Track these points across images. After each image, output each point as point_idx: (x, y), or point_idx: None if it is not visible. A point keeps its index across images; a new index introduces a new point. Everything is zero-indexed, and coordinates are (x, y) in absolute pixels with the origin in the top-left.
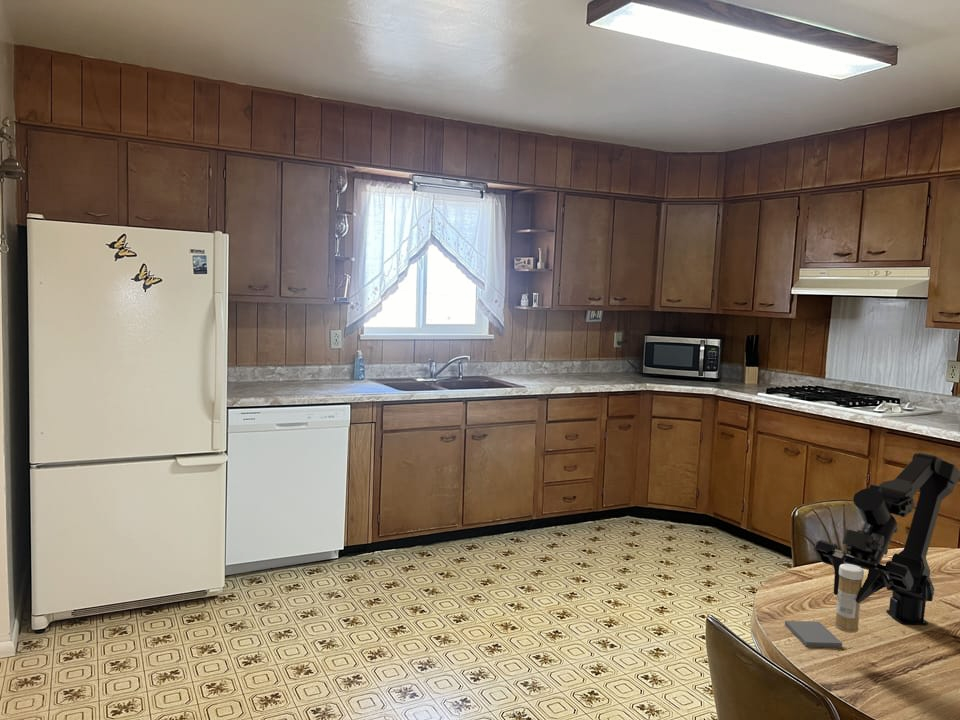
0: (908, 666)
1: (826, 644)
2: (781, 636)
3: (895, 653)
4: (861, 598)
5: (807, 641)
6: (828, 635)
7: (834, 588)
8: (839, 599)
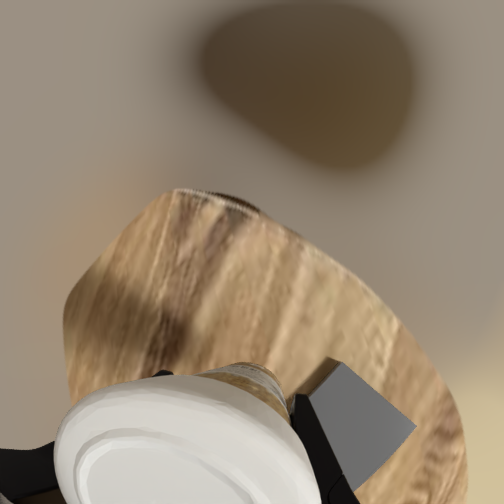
0: None
1: None
2: (397, 361)
3: None
4: None
5: (341, 368)
6: None
7: (310, 410)
8: (265, 380)
